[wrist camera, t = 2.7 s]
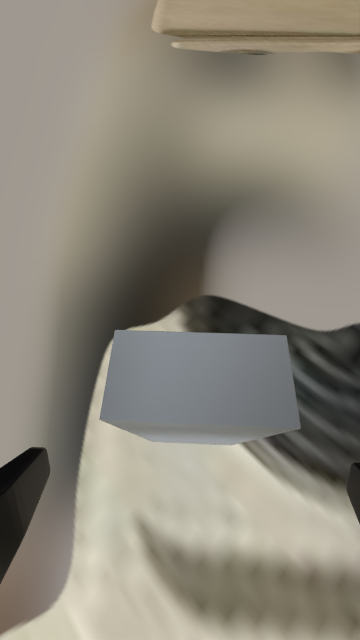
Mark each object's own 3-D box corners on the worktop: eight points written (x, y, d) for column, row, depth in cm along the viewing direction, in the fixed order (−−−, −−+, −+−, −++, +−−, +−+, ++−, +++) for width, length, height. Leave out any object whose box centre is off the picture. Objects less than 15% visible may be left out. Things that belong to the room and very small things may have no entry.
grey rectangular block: (230, 445, 17) (300, 428, 6) (152, 441, 17) (99, 419, 7) (228, 402, 18) (285, 331, 8) (155, 399, 18) (115, 326, 8)
